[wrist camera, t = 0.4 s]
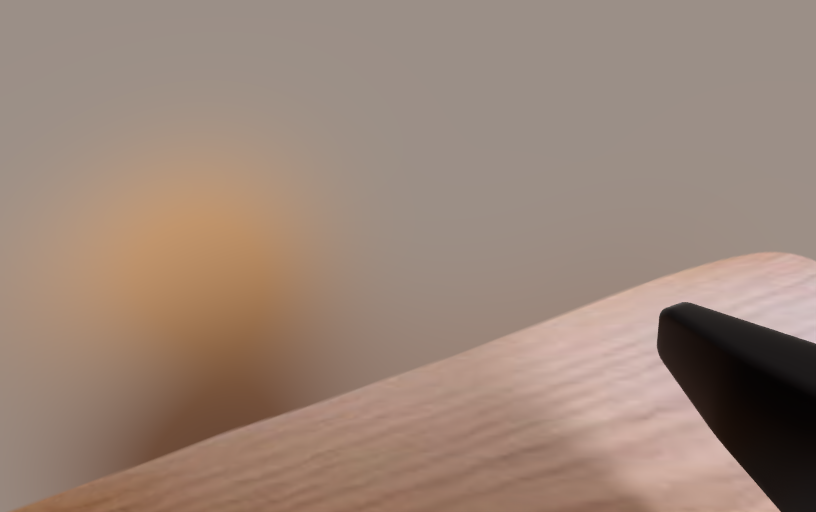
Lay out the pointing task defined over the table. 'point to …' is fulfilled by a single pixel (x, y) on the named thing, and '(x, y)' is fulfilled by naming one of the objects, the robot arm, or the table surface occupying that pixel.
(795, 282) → the table surface
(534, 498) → the table surface
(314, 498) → the table surface
